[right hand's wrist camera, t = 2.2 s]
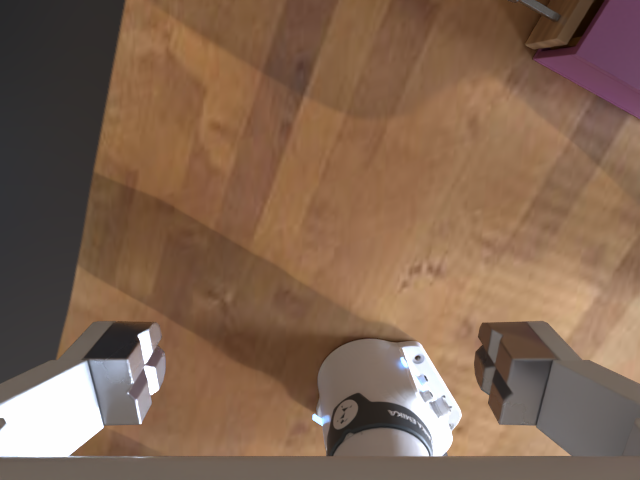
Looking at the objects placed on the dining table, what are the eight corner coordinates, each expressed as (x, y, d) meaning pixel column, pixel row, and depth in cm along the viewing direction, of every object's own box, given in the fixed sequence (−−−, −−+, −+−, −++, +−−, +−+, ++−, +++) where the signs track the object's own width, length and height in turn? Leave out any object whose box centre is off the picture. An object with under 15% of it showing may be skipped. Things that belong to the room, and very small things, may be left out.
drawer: (478, 19, 42) (504, 8, 36) (530, -77, 39) (566, -105, 33) (646, 112, 45) (694, 117, 39) (705, 31, 42) (767, 22, 37)
